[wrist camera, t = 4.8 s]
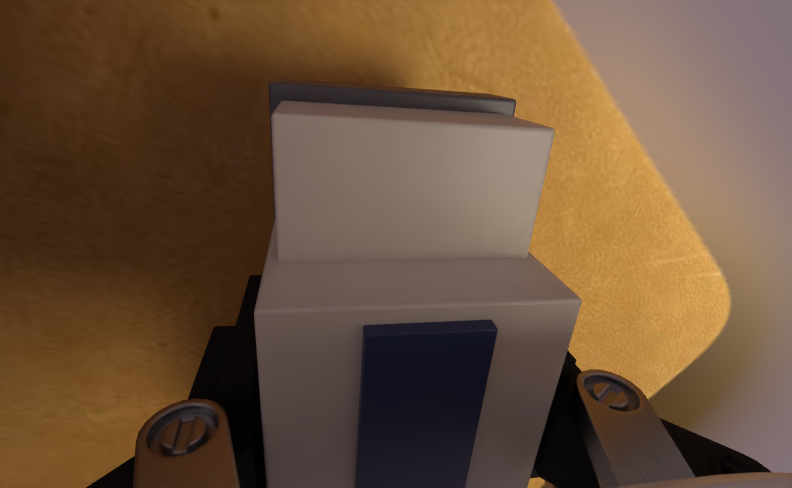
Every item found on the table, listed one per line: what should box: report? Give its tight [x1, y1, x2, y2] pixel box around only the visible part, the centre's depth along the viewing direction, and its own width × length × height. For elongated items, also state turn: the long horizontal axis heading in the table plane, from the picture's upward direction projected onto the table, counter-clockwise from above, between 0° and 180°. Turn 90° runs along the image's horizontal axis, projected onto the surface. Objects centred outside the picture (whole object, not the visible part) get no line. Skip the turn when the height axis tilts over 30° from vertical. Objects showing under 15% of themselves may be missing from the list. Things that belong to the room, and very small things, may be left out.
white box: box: [254, 79, 582, 488], centre depth 9 cm, size 12×5×5 cm, turn 176°
